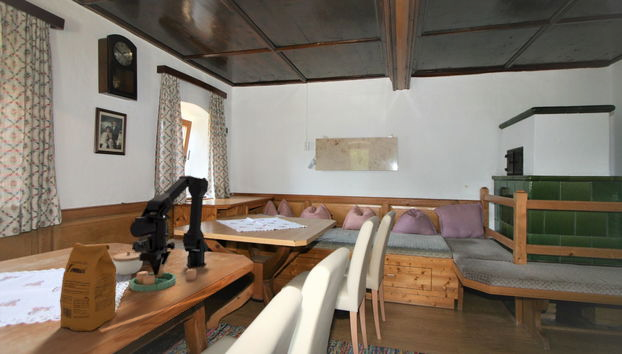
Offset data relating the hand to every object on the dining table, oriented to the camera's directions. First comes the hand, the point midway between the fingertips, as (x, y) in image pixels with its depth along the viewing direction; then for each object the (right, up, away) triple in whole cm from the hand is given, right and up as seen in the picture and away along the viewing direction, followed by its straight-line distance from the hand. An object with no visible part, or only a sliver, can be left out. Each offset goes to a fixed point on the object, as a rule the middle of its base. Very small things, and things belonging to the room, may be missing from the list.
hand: (158, 273), depth 117 cm
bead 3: (0, -1, 0) cm, 1 cm away
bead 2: (+1, -3, -8) cm, 8 cm away
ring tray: (0, -3, -4) cm, 5 cm away
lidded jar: (-16, -3, +9) cm, 19 cm away
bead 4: (+12, -4, +2) cm, 13 cm away
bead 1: (-4, -3, -4) cm, 6 cm away
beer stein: (-16, -3, +29) cm, 34 cm away
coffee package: (-3, -4, -32) cm, 32 cm away
